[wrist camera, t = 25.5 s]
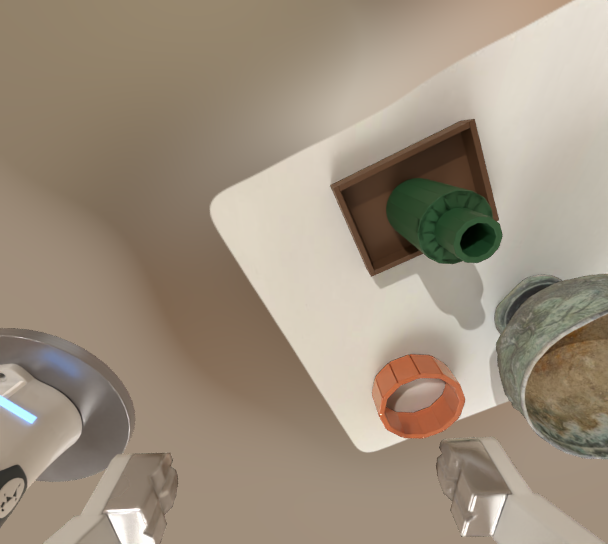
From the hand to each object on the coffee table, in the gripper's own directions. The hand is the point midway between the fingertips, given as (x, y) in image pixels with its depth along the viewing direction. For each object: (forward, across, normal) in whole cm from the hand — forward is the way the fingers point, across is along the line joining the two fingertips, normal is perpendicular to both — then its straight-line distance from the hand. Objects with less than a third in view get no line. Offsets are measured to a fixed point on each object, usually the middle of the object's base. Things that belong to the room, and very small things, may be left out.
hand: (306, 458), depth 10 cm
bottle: (+29, -13, -1) cm, 32 cm away
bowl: (+30, -30, +14) cm, 45 cm away
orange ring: (+29, -16, +26) cm, 42 cm away
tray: (+30, -13, -2) cm, 32 cm away
